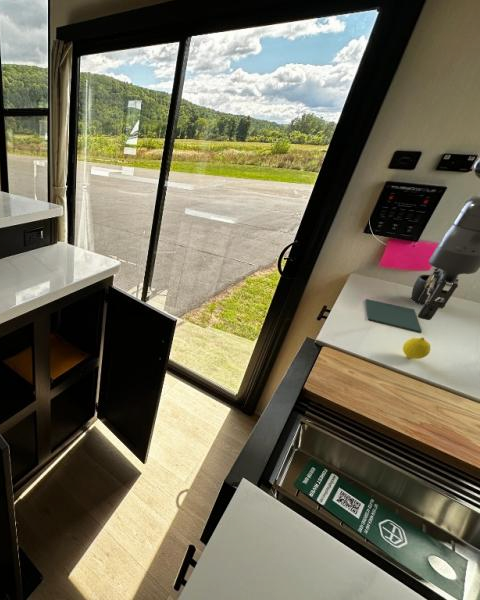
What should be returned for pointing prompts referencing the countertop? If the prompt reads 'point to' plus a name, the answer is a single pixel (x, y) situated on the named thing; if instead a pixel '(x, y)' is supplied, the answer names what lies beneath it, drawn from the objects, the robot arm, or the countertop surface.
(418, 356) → the fruit
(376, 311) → the mat
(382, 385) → the countertop surface
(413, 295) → the mug
